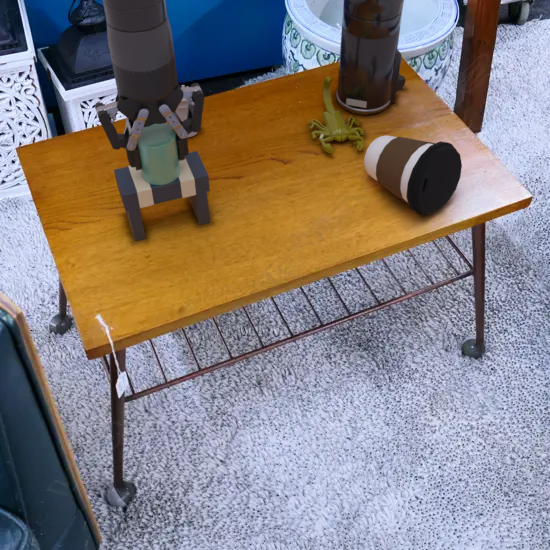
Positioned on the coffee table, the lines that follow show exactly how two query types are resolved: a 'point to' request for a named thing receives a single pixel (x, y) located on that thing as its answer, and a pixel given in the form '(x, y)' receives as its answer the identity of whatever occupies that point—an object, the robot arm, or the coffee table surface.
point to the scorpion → (335, 124)
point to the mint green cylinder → (158, 154)
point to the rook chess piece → (184, 113)
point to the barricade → (164, 191)
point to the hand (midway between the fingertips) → (159, 161)
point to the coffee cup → (415, 170)
